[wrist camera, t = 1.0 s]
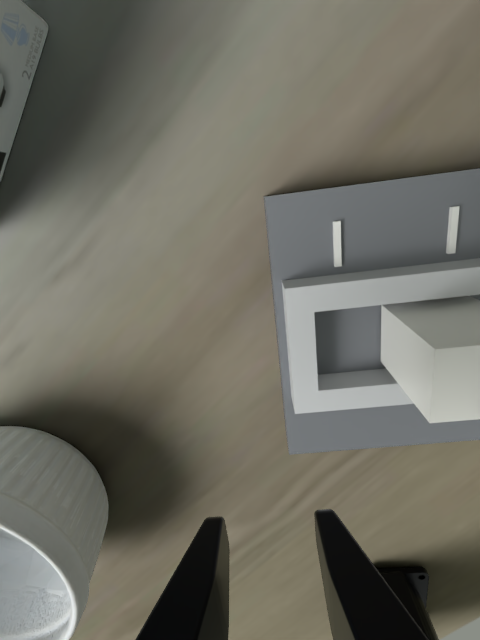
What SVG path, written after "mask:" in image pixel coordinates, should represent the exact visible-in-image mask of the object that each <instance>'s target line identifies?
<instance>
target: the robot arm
mask: <svg viewBox="0 0 480 640" xmlns="http://www.w3.org/2000/svg"><path fill="white" fill-rule="evenodd" d="M314 516H315V531H316V542H317V549H318V555H319V561H320V567H321V573H322V579H323V586H324V592H325V598H326V604H327V610H328V616H329V621H330V627H331V631H332V636H333V640H439V639H438V636H437V634H436V632H435V629H434V627H433V625H432V622H431V620H430V617H429V615H428V613H427V610H426V601H427V591H428V580H429V576H428V573H427V571H426V569H425V568H423V567H409V568H390V569H376V568H375V566H374V565H373V563H372V562H371V561H370V559H369V558H368V557H367V555H366V554H365V553H364V551H363V550H362V548H361V547H360V546H359V544H358V543H357V542H356V540H355V539H354V538H353V536H352V535H351V533H350V532H349V531H348V529H347V528H346V527H345V525H344V524H343V523H342V521H341V520H340V519H339V517H338V516H337V514H336V513H335V512H334V511H333V510H331V509H326V510H317V511H315V514H314ZM228 628H229V541H228V536H227V530H226V525H225V520H224V518H223V517H208V518H206V519H205V520H204V522H203V524H202V525H201V527H200V529H199V531H198V532H197V534H196V536H195V537H194V539H193V541H192V543H191V544H190V546H189V548H188V550H187V551H186V553H185V555H184V556H183V558H182V560H181V562H180V563H179V565H178V567H177V569H176V570H175V572H174V574H173V576H172V577H171V579H170V581H169V582H168V584H167V586H166V588H165V589H164V591H163V593H162V595H161V596H160V598H159V600H158V602H157V603H156V605H155V607H154V608H153V610H152V612H151V614H150V615H149V617H148V619H147V621H146V622H145V624H144V626H143V628H142V629H141V631H140V633H139V634H138V636H137V638H136V640H228Z"/></svg>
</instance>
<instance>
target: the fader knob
mask: <svg viewBox="0 0 480 640" xmlns="http://www.w3.org/2000/svg"><path fill="white" fill-rule="evenodd" d="M381 362H382V364H383V365H384V366H385V367H386V369H387V370H388V371H389V373H390V374H391V375H392V376H393V378H394V379H395V380H396V381H397V383H398V384H399V385H400V387H401V388H402V389H403V390H404V392H405V393H406V394H407V395H408V397H409V398H410V399H411V400H412V402H413V403H414V404H415V406H416V407H417V408H418V409H419V411H420V412H421V413H422V414H423V416H424V417H425V418H426V419H427V421H428V422H429V423H440V422H452V421H464V420H477V419H480V300H478V299H475V298H473V297H471V296H460V297H451V298H442V299H432V300H423V301H414V302H404V303H395V304H386V305H382V307H381Z"/></svg>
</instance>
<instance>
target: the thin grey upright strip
mask: <svg viewBox="0 0 480 640" xmlns="http://www.w3.org/2000/svg"><path fill="white" fill-rule="evenodd" d="M47 33H48V24H47V23H46V21H45V20H43V19H42V18H41V17H40V16H39V15H37V14H36V13H35V12H34V11H33V10H32V9H31V8H29V7H28V6H27V5H26V4H25V3H24V2H23V1H22V0H0V182H1V179H2V176H3V173H4V170H5V167H6V163H7V160H8V157H9V154H10V150H11V147H12V144H13V141H14V138H15V135H16V132H17V129H18V126H19V122H20V119H21V116H22V113H23V110H24V106H25V103H26V100H27V97H28V94H29V90H30V87H31V84H32V81H33V78H34V75H35V72H36V69H37V65H38V62H39V59H40V56H41V53H42V49H43V46H44V43H45V40H46V37H47Z"/></svg>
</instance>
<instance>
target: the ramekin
mask: <svg viewBox="0 0 480 640" xmlns="http://www.w3.org/2000/svg"><path fill="white" fill-rule="evenodd" d="M108 510H109V505H108V498H107V494H106V490H105V487H104V485H103V482H102V480H101V478H100V476H99V474H98V472H97V470H96V469H95V467H94V466H93V465H92V463H91V462H90V461H89V460H88V459H87V458H86V457H85V456H84V455H83V454H82V453H81V452H80V451H79V450H77V449H76V448H75V447H73V446H72V445H70V444H69V443H67V442H66V441H64V440H62V439H60V438H58V437H56V436H54V435H51V434H49V433H46V432H44V431H40V430H36V429H32V428H27V427H18V426H0V640H69V639H70V638H71V637H72V635H73V633H74V631H75V629H76V627H77V625H78V623H79V621H80V618H81V616H82V614H83V612H84V609H85V607H86V604H87V600H88V596H89V583H90V580H91V577H92V574H93V571H94V568H95V565H96V561H97V558H98V555H99V552H100V548H101V545H102V541H103V538H104V534H105V530H106V526H107V522H108Z"/></svg>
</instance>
